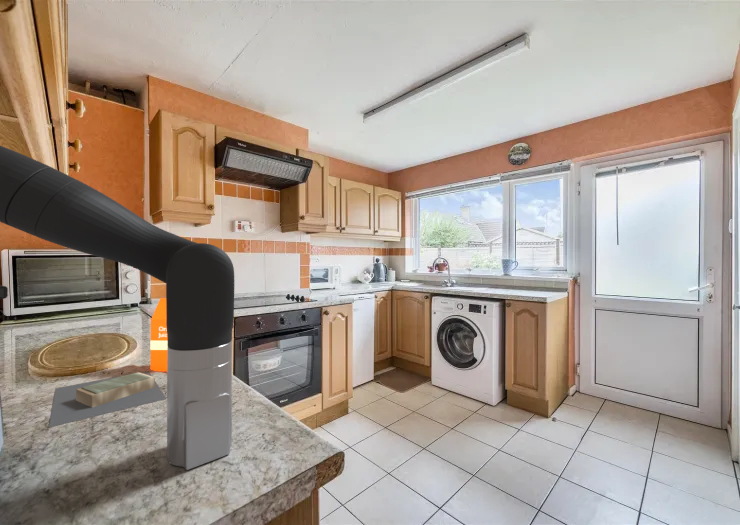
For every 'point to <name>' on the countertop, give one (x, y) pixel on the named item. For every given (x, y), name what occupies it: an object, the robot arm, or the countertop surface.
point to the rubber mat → (73, 410)
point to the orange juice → (159, 337)
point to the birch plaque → (114, 389)
